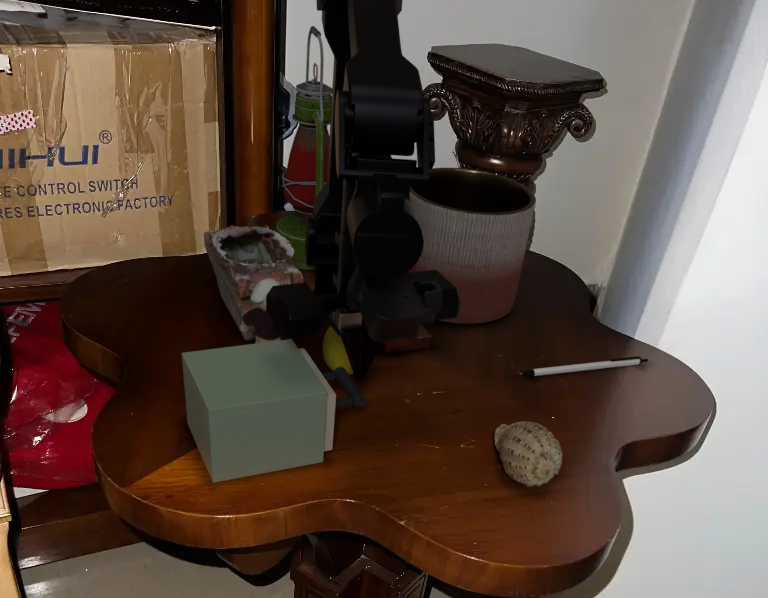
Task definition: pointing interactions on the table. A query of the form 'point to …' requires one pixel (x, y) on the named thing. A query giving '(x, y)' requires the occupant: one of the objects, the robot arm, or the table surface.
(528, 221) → the planter
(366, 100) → the robot arm
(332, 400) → the drawer
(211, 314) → the table surface
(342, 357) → the lemon
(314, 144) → the lantern
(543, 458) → the seashell
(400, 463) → the table surface
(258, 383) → the cabinet
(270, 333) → the grandmother figurine
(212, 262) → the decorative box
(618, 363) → the pen
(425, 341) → the control block
